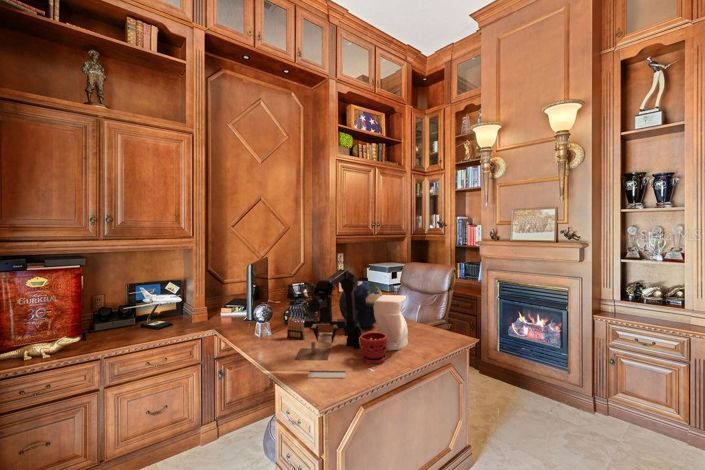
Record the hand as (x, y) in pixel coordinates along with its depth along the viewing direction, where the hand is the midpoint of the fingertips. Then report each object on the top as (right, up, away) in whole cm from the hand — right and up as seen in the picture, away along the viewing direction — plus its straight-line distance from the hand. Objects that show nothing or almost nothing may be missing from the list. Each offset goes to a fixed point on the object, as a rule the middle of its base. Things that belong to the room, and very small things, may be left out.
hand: (325, 342), depth 149 cm
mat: (+1, -12, -2) cm, 13 cm away
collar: (0, -2, 0) cm, 2 cm away
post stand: (-7, -12, +17) cm, 22 cm away
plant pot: (+23, -13, +11) cm, 28 cm away
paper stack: (+32, -12, +31) cm, 46 cm away
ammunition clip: (-21, -12, +44) cm, 50 cm away
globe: (+19, -12, +68) cm, 72 cm away
